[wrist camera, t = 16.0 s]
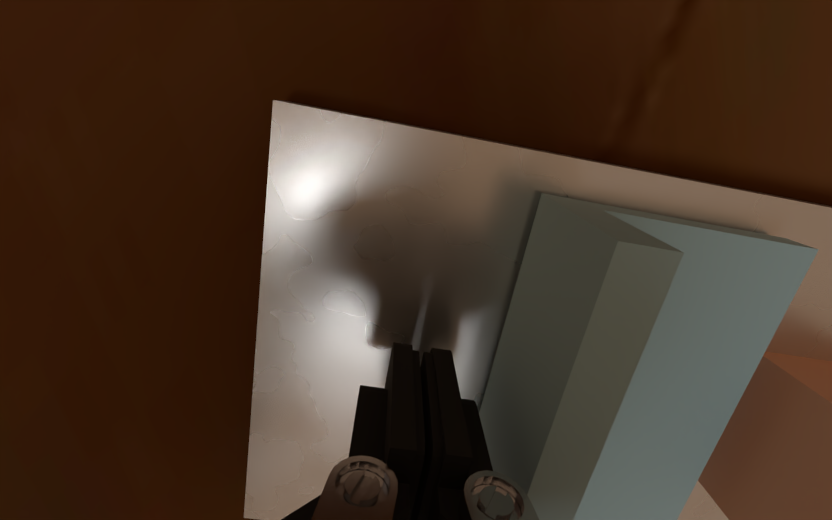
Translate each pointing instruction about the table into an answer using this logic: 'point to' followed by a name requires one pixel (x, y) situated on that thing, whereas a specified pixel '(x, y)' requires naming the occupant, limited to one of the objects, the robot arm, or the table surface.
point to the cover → (629, 355)
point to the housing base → (436, 271)
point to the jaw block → (777, 445)
